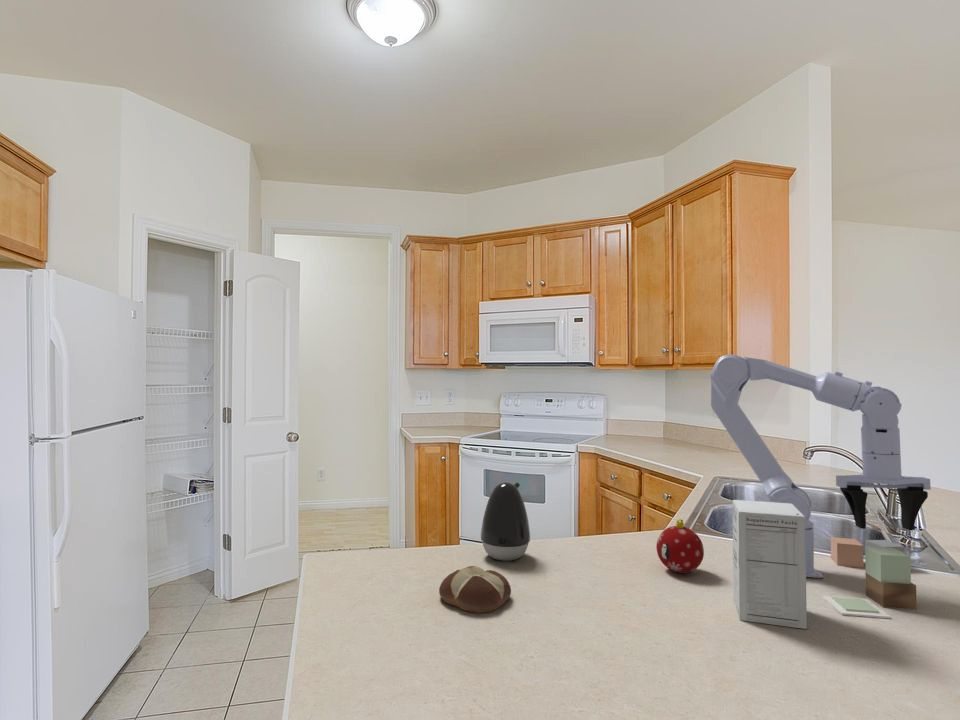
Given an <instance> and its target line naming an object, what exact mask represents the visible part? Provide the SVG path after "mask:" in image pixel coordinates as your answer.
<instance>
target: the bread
mask: <svg viewBox="0 0 960 720" xmlns="http://www.w3.org/2000/svg"><path fill="white" fill-rule="evenodd" d="M438 590H439V591H438V592H439V596H440V598H441V599H442V600H443V601H444V602H445V603H446V604H448V605H451V606H454V607H457V608H460V609H461V610H465V611H467V612H471V613H474V614H484V613H489V612H493V611H495V610H496V609H498V608H499V607H500V606H502V605H503V604H505V603H506V602H507V601H508V600H509V598H510V596H511V594H512V589H511V585H510V582H509V581H508V579H507V578H506V577H505V576H504V575H503V574H501V573H499V572H498V571H496V570H492V569H489V570H488V569H487V570H484V569H483V568H481V567H479V566H475V565H471V566H470V565H469V566H466V567H464V568H461V569H457V570H455V571H454V572H451V573H449V574H448V575H447V576H446V577H445V578H444V579H443V580H442V582H441V583H440V586H439V589H438Z"/></svg>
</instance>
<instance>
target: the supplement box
mask: <svg viewBox="0 0 960 720" xmlns="http://www.w3.org/2000/svg"><path fill="white" fill-rule="evenodd" d="M732 560H733V561H732V562H733V563H732V566H733V567H732V568H733V572H732V573H733V576H732V577H733V602H734V606H735V608H736V613H737V615H738V619H739V621H744V622H752V623H758V624H764V625H765V624H767V625H771V626H772V625H773V626H779V627H780V626H782V627H787V628H795V629H803V630H807V629H808V616H807V615H808V613H807V611H808V610H807V605H808V604H807V577H806V554H805V517H804V515H803V514H802V513H801V512H800V511H799V510H798V509H797V508H796V507H795V506H794V505H793V504H790V503H775V502H771V501H759V500H758V501H757V500H741V499H732Z"/></svg>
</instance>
